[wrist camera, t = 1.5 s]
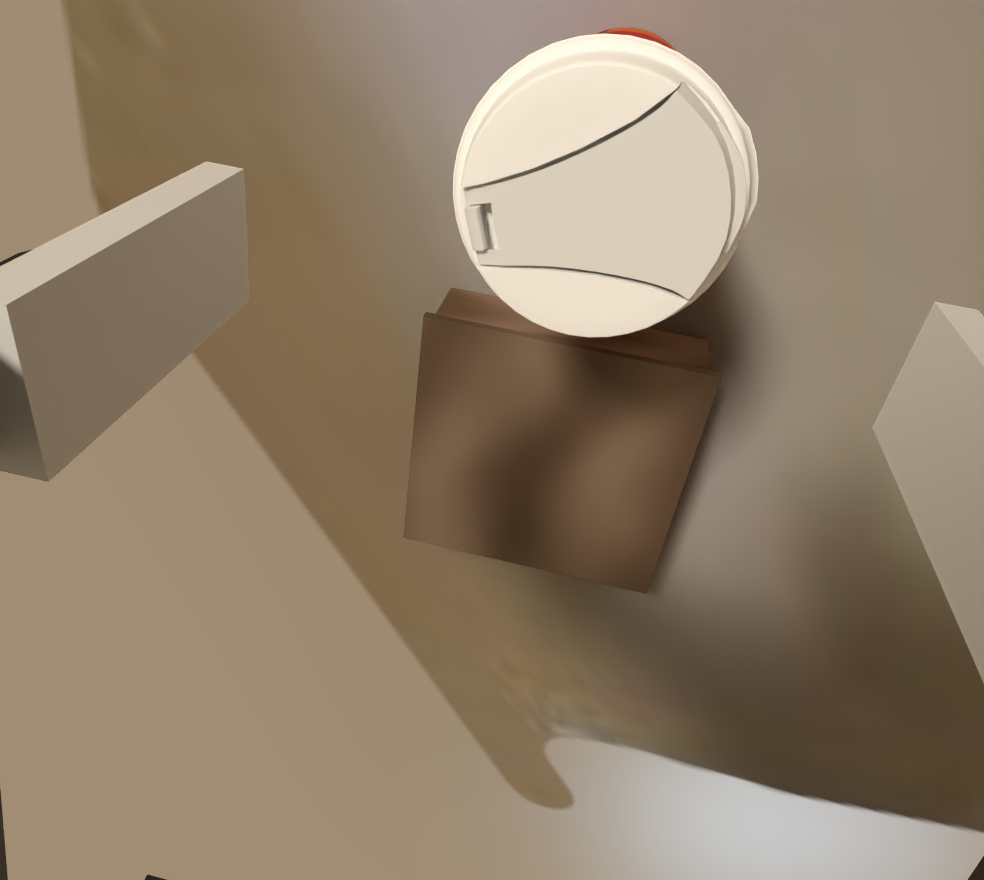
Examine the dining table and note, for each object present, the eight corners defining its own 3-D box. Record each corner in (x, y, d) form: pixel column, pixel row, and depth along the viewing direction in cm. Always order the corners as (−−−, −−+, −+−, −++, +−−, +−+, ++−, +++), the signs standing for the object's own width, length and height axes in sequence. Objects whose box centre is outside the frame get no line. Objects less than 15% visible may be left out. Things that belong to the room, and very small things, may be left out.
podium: (716, 335, 35) (721, 377, 32) (647, 541, 42) (646, 593, 39) (445, 280, 36) (423, 315, 33) (423, 491, 43) (403, 537, 40)
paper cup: (539, 215, 34) (474, 366, 22) (509, 16, 30) (409, 73, 18) (728, 190, 32) (764, 341, 20) (722, -27, 28) (762, 7, 16)
